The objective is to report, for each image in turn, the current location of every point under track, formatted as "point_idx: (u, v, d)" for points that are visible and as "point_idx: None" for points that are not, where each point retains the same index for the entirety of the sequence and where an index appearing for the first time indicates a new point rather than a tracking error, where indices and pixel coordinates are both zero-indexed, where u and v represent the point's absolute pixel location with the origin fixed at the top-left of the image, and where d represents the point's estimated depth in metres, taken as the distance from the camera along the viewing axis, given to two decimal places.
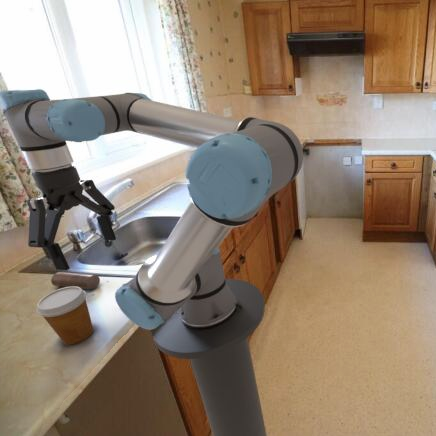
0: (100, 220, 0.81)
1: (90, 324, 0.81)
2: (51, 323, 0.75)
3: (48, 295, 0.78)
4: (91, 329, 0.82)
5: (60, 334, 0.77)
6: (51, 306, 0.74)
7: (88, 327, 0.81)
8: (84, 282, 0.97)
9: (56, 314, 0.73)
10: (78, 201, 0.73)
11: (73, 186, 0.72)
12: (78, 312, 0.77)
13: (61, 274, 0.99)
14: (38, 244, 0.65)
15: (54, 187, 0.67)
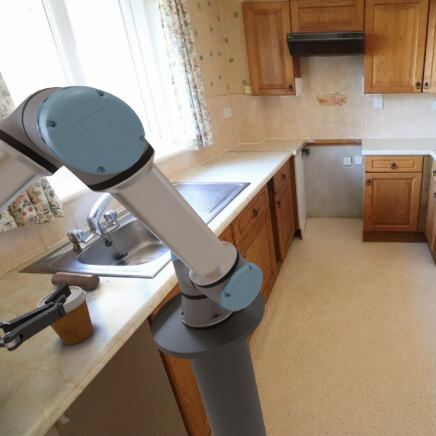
0: None
1: (90, 324, 0.81)
2: None
3: (48, 295, 0.78)
4: (91, 329, 0.82)
5: (60, 334, 0.77)
6: None
7: (88, 327, 0.81)
8: (84, 282, 0.97)
9: None
10: None
11: None
12: (78, 312, 0.77)
13: (61, 274, 0.99)
14: (59, 305, 0.61)
15: None
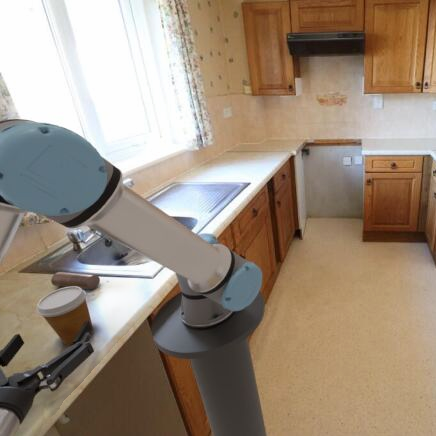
0: (7, 359, 0.67)
1: (90, 324, 0.81)
2: (51, 323, 0.75)
3: (48, 295, 0.78)
4: None
5: (60, 334, 0.77)
6: (51, 306, 0.74)
7: None
8: (84, 282, 0.97)
9: (56, 314, 0.73)
10: (10, 377, 0.61)
11: None
12: (78, 312, 0.77)
13: (61, 274, 0.99)
14: (88, 344, 0.68)
15: (21, 390, 0.57)
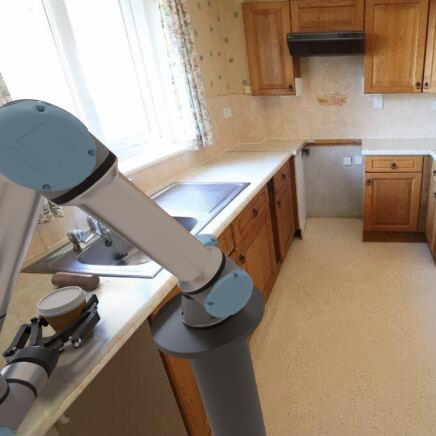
0: None
1: None
2: (51, 323, 0.75)
3: (48, 295, 0.78)
4: None
5: None
6: (51, 306, 0.74)
7: None
8: (84, 282, 0.97)
9: (56, 314, 0.73)
10: (37, 340, 0.69)
11: None
12: (78, 312, 0.77)
13: (61, 274, 0.99)
14: (96, 312, 0.77)
15: (48, 349, 0.65)
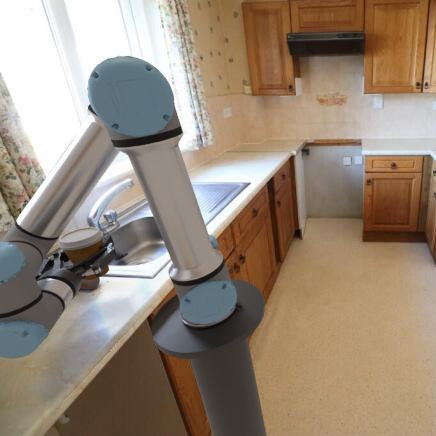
0: (67, 257, 0.83)
1: None
2: (72, 257, 0.80)
3: (68, 233, 0.83)
4: (107, 268, 0.88)
5: None
6: (71, 240, 0.80)
7: None
8: (84, 282, 0.97)
9: (77, 247, 0.79)
10: (61, 268, 0.75)
11: None
12: (96, 248, 0.83)
13: None
14: (113, 248, 0.83)
15: (72, 272, 0.71)
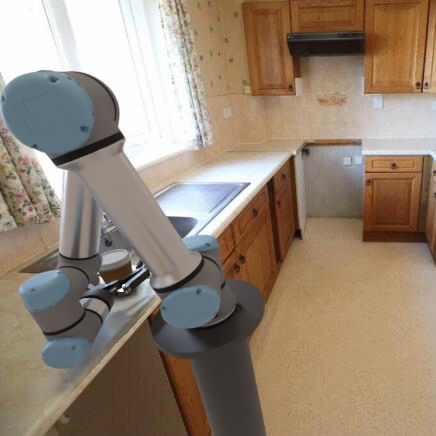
0: None
1: None
2: (105, 277, 0.91)
3: None
4: None
5: None
6: (105, 263, 0.90)
7: None
8: None
9: (109, 269, 0.90)
10: (96, 286, 0.85)
11: None
12: (126, 269, 0.93)
13: None
14: (147, 268, 0.92)
15: (107, 291, 0.81)
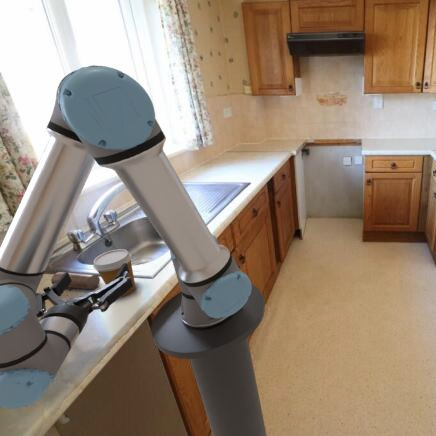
0: (60, 291, 0.78)
1: (133, 281, 0.98)
2: (105, 277, 0.91)
3: (101, 255, 0.94)
4: (134, 285, 0.98)
5: None
6: (105, 263, 0.90)
7: None
8: (84, 282, 0.97)
9: (109, 269, 0.90)
10: (66, 300, 0.72)
11: None
12: None
13: (61, 274, 0.99)
14: (129, 278, 0.78)
15: (78, 307, 0.68)
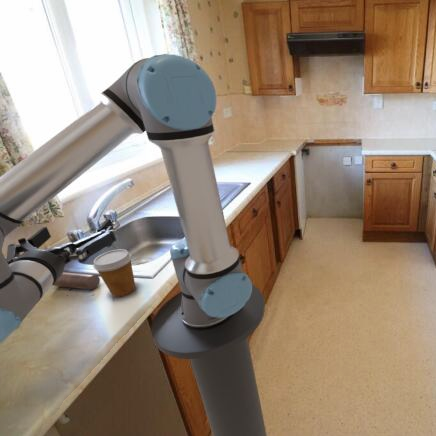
0: (36, 244, 0.72)
1: (133, 281, 0.98)
2: (105, 277, 0.91)
3: (101, 255, 0.94)
4: (134, 285, 0.98)
5: (111, 287, 0.93)
6: (105, 263, 0.90)
7: (132, 283, 0.97)
8: (84, 282, 0.97)
9: (109, 269, 0.90)
10: None
11: None
12: (126, 269, 0.93)
13: None
14: (111, 231, 0.73)
15: (53, 254, 0.62)
